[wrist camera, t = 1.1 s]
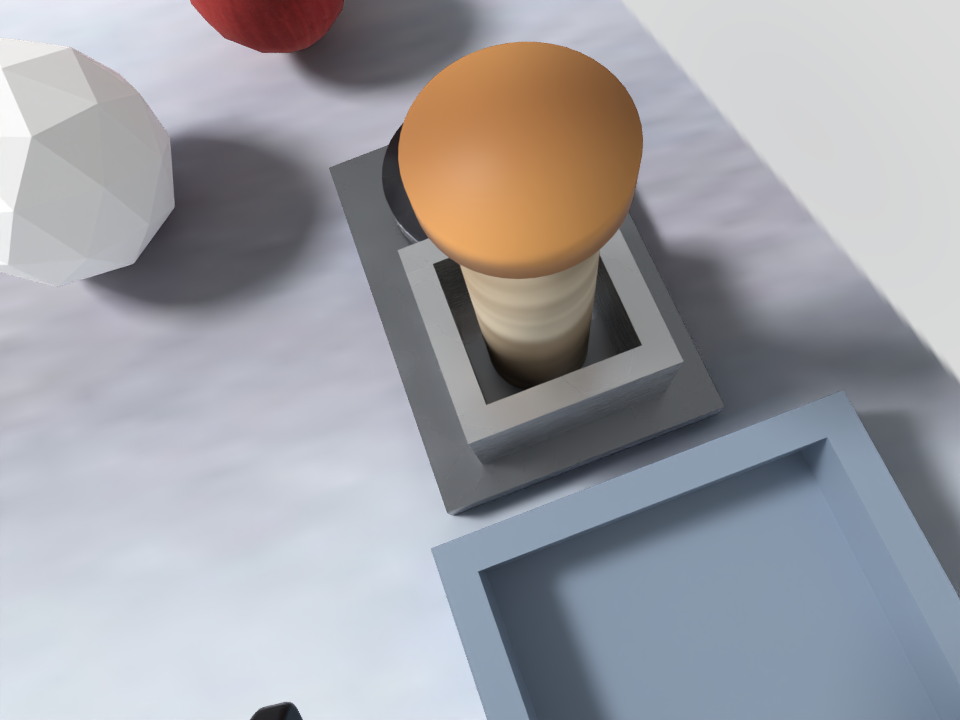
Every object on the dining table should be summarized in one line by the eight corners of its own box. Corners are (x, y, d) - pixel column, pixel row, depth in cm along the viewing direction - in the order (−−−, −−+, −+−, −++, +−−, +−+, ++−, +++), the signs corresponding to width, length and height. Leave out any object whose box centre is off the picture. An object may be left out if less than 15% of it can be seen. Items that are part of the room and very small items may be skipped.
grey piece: (717, 413, 22) (754, 375, 18) (452, 515, 22) (426, 501, 18) (562, 96, 26) (563, 3, 22) (337, 182, 26) (294, 106, 22)
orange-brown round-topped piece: (625, 378, 22) (685, 199, 11) (499, 426, 22) (443, 291, 11) (573, 264, 23) (584, 9, 13) (454, 309, 23) (368, 92, 13)
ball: (138, 212, 30) (56, 6, 26) (247, 255, 26) (172, 16, 21) (-56, 289, 26) (-197, 56, 21) (36, 358, 21) (-118, 81, 17)
